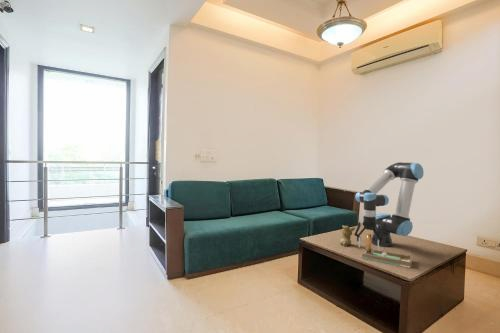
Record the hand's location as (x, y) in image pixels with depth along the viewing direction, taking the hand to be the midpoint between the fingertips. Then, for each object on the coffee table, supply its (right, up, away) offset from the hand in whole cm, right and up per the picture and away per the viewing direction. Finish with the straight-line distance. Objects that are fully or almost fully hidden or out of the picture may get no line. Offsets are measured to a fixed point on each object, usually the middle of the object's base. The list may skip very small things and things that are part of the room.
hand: (368, 248), depth 180 cm
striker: (0, -4, 0) cm, 4 cm away
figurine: (-6, -5, +23) cm, 25 cm away
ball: (+8, -3, -5) cm, 10 cm away
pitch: (+9, -6, -6) cm, 12 cm away
